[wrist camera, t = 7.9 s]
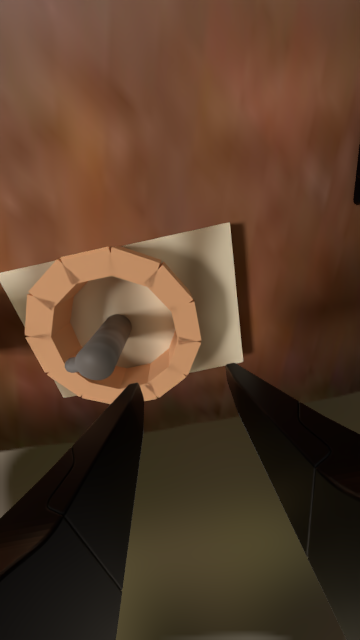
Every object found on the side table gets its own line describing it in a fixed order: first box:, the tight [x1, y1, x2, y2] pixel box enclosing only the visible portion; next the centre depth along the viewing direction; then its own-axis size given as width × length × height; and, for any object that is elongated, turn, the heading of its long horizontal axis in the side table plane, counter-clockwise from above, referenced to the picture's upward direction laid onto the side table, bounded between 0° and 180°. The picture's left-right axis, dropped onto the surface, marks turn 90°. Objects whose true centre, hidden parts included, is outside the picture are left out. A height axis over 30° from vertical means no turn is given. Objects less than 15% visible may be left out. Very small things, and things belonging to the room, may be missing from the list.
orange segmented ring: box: [25, 246, 201, 404], centre depth 16 cm, size 13×13×3 cm
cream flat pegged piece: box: [0, 222, 243, 398], centre depth 15 cm, size 19×13×8 cm
